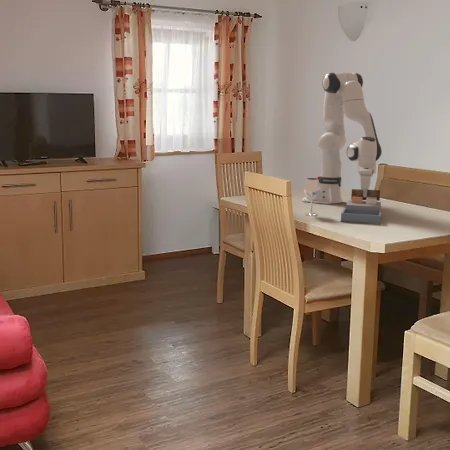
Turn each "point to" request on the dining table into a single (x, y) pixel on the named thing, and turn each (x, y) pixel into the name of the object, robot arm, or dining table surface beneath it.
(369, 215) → the box
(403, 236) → the dining table surface
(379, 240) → the dining table surface
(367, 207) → the grey flat block
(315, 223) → the dining table surface
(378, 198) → the scraper bar
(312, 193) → the wineglass
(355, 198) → the tile terracotta
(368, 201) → the tile cream
